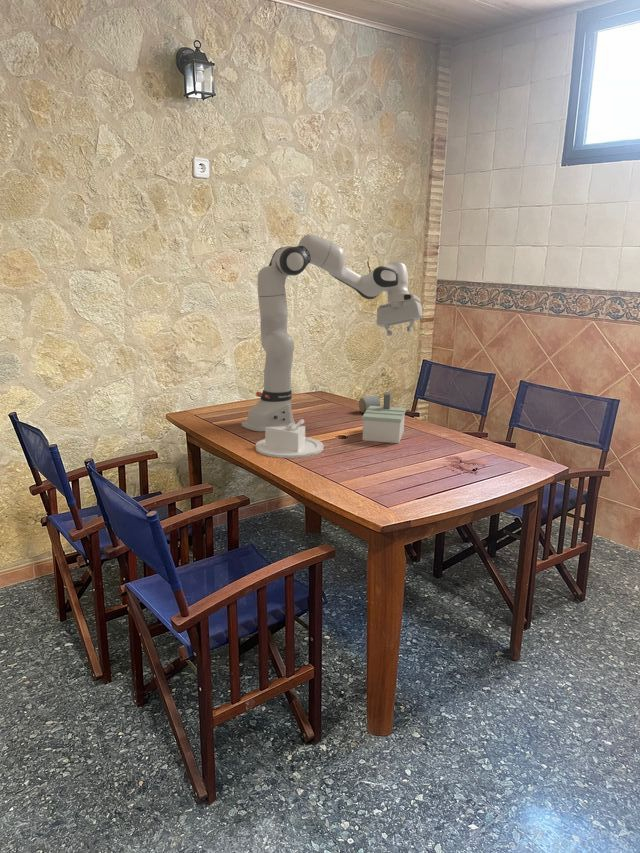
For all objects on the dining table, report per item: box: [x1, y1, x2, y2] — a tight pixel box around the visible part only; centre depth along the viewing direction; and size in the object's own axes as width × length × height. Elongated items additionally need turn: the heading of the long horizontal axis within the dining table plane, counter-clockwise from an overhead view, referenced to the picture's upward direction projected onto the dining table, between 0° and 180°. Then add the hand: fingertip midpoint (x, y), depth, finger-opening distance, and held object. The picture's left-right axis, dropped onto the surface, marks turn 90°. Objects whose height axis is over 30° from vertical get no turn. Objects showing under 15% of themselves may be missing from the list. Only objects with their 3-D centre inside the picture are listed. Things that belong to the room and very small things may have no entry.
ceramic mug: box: [358, 395, 382, 414], centre depth 283 cm, size 11×8×8 cm
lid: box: [361, 392, 407, 423], centre depth 246 cm, size 19×15×9 cm
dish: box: [255, 418, 325, 459], centre depth 230 cm, size 25×25×11 cm
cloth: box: [440, 455, 488, 474], centre depth 214 cm, size 20×22×2 cm
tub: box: [362, 413, 406, 444], centre depth 248 cm, size 18×14×8 cm
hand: (399, 333), depth 262 cm, fingers open, 8 cm apart
